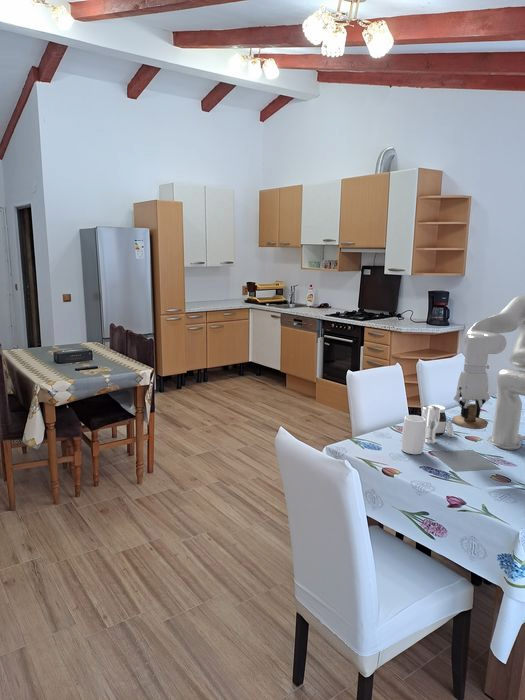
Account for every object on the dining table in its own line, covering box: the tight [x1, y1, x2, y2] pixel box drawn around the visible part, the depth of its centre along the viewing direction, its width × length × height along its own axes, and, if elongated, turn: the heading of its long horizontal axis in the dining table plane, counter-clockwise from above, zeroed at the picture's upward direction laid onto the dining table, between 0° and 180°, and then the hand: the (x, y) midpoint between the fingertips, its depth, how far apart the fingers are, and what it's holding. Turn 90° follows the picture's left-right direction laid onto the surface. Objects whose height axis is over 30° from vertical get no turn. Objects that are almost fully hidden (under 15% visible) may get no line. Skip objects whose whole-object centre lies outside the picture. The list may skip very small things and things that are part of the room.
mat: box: [430, 449, 501, 473], centre depth 193 cm, size 18×18×1 cm
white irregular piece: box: [433, 404, 454, 438], centre depth 221 cm, size 12×11×12 cm
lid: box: [451, 402, 488, 430], centre depth 190 cm, size 12×12×7 cm
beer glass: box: [421, 404, 440, 444], centre depth 210 cm, size 7×7×15 cm
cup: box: [401, 414, 426, 455], centre depth 198 cm, size 8×8×14 cm
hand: (470, 416), depth 190 cm, fingers closed on lid, 4 cm apart
